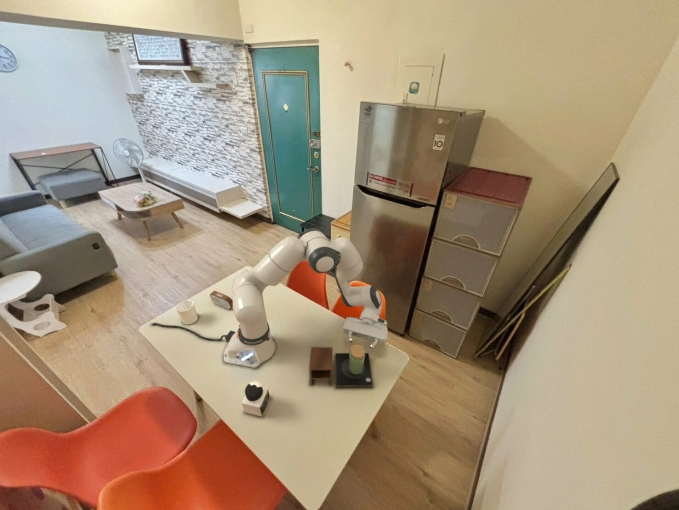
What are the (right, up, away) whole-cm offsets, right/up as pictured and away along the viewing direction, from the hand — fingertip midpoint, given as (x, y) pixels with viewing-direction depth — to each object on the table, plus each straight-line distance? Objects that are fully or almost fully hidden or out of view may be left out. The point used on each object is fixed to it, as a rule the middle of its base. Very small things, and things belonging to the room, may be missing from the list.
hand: (360, 344), depth 113 cm
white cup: (-86, +5, +22) cm, 88 cm away
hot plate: (-3, -12, +1) cm, 12 cm away
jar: (-2, -10, 0) cm, 10 cm away
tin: (-72, +11, +30) cm, 79 cm away
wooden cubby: (-17, -12, 0) cm, 21 cm away
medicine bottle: (-41, -19, -12) cm, 46 cm away
